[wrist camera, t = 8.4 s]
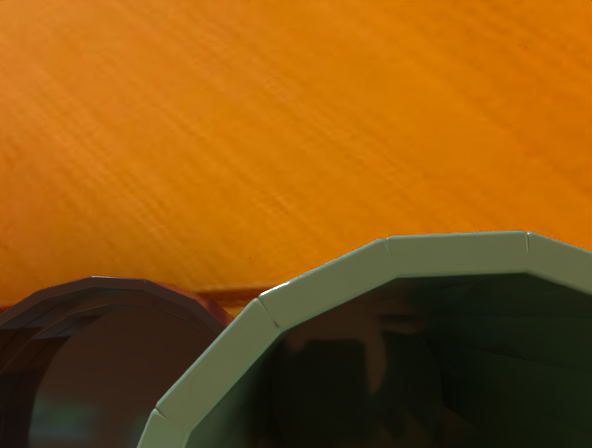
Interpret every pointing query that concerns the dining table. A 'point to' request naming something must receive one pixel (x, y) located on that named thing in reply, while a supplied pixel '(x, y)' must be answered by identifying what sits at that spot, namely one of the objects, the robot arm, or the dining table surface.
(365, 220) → the dining table surface
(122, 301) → the pan
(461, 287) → the cup
